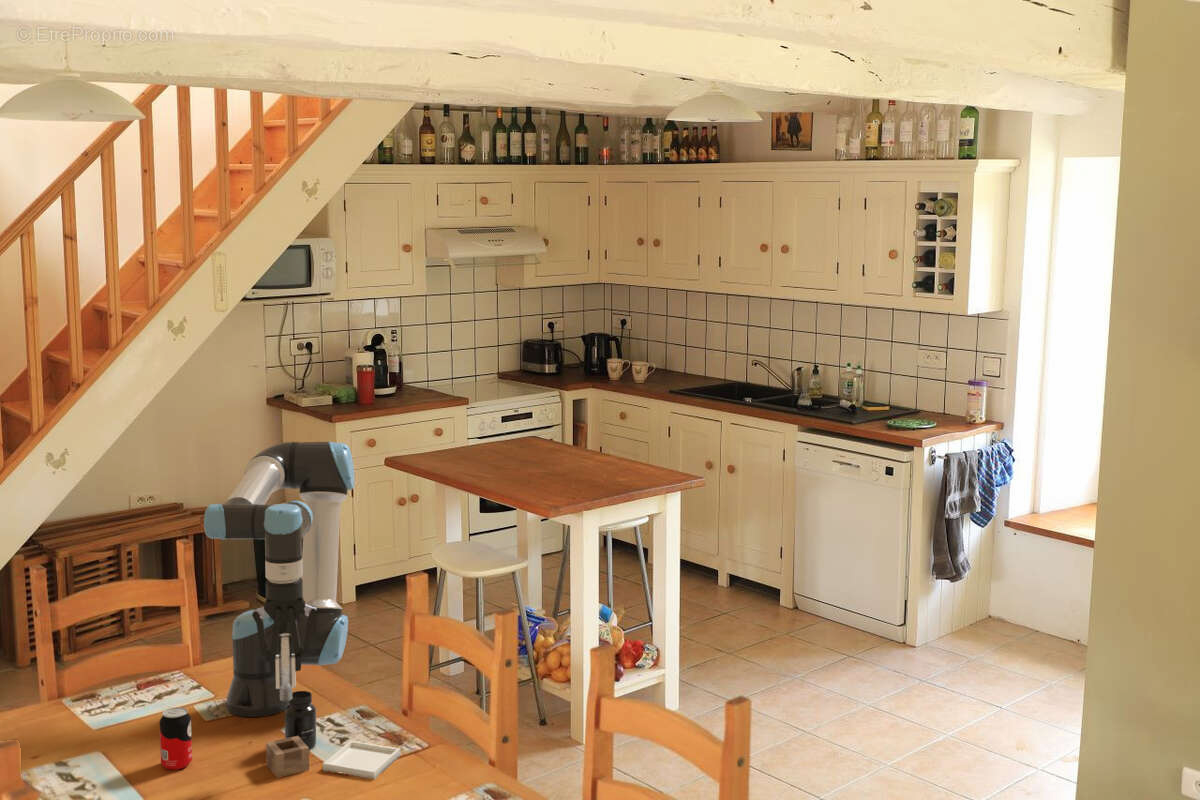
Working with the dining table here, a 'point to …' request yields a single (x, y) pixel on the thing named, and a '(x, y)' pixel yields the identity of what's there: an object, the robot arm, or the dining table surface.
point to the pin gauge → (285, 666)
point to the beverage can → (175, 738)
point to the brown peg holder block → (287, 756)
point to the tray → (362, 759)
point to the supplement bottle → (301, 718)
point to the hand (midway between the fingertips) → (285, 685)
